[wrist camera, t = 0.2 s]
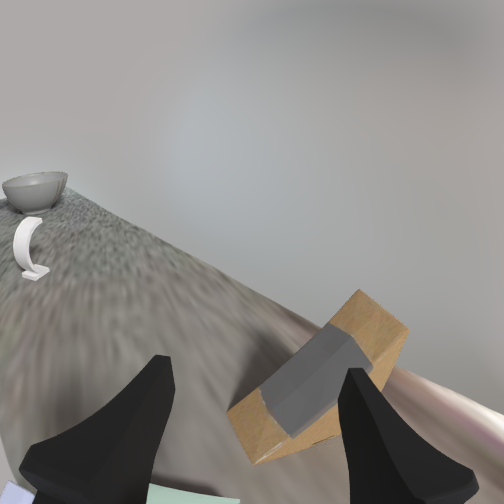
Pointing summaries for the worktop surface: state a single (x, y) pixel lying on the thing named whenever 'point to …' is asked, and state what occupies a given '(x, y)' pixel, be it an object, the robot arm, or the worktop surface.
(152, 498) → the lid
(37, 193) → the decorative bowl
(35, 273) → the headphone stand
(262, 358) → the worktop surface
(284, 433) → the sandwich container
